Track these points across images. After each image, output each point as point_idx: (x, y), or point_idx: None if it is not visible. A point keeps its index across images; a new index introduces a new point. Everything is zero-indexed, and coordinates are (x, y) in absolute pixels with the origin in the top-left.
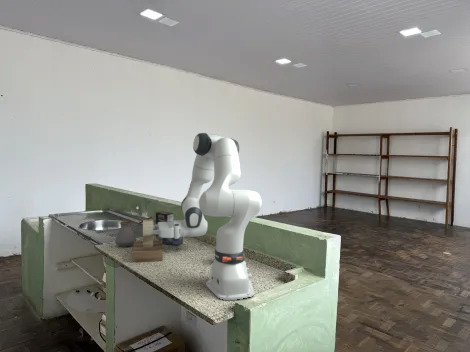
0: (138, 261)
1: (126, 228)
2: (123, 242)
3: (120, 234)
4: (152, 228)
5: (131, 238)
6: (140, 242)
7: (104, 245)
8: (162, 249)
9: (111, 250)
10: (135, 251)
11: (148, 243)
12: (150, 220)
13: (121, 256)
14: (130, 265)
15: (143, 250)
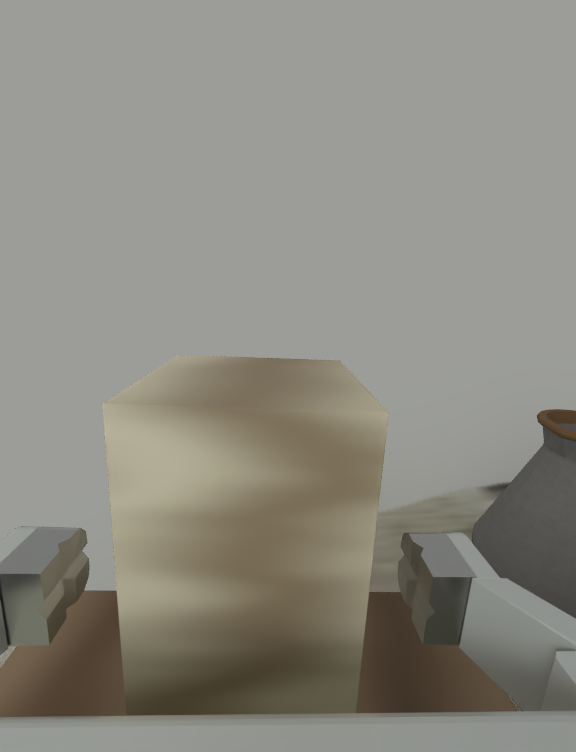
0: None
1: (554, 467)
2: (478, 549)
3: (507, 487)
4: (125, 562)
5: (551, 575)
6: (412, 653)
7: (480, 504)
8: None
9: (396, 533)
10: (70, 611)
11: None
12: (279, 388)
13: None
14: (7, 655)
15: (41, 697)
